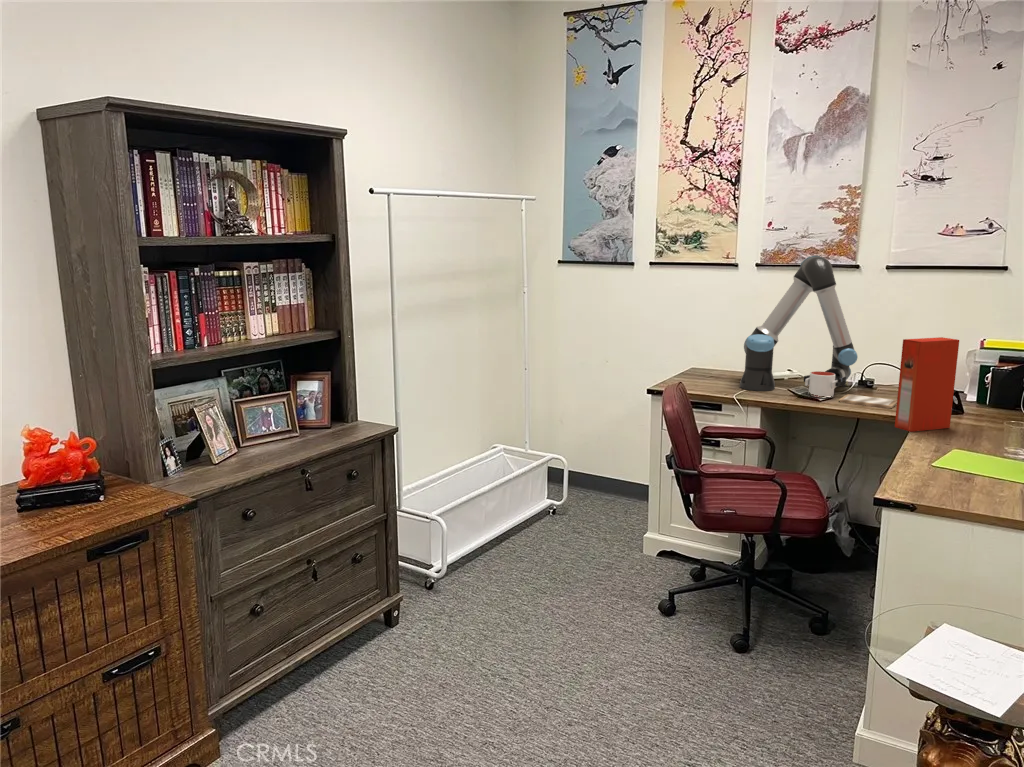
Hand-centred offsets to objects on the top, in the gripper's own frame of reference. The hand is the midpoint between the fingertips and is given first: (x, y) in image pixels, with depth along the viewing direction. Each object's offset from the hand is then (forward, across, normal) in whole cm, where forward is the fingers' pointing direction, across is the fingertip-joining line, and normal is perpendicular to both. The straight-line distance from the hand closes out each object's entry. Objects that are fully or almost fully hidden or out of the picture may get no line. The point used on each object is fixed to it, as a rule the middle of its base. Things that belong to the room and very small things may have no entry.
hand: (818, 384), depth 319 cm
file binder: (+28, -44, -6) cm, 53 cm away
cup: (-4, 0, -6) cm, 8 cm away
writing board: (-4, -19, -6) cm, 20 cm away
